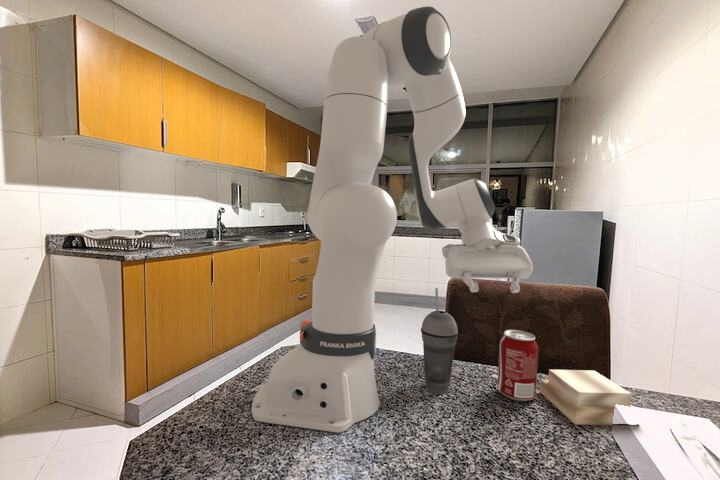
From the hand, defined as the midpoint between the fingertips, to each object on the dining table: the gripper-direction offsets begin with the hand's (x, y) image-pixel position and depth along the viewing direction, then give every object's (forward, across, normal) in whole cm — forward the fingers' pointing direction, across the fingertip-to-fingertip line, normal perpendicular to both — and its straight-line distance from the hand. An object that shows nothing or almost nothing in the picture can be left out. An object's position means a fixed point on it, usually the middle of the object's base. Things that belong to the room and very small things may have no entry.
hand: (495, 291), depth 79 cm
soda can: (+22, 0, +4) cm, 22 cm away
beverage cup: (+20, -15, +5) cm, 26 cm away
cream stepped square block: (+24, +11, +1) cm, 27 cm away
